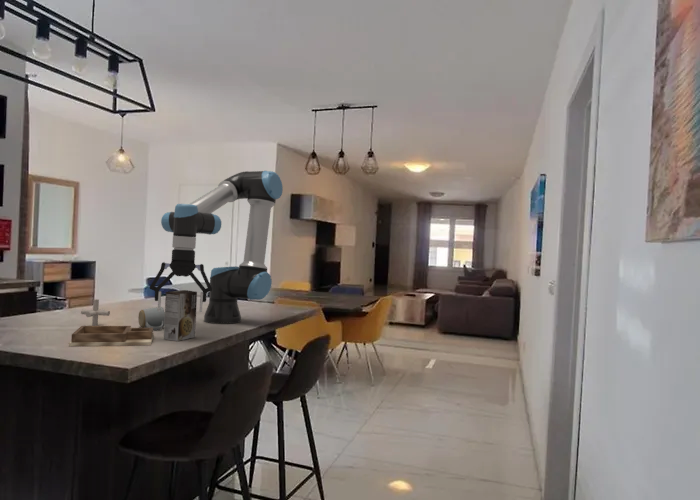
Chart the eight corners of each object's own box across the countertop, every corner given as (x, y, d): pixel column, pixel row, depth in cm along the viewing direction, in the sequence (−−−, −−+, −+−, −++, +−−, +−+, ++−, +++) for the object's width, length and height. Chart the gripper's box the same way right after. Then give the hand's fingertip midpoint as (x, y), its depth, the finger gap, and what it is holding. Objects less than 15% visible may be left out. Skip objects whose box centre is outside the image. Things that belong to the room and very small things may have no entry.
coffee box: (180, 335, 177) (183, 289, 177) (195, 337, 174) (198, 291, 174) (162, 339, 168) (164, 291, 168) (177, 341, 166) (180, 292, 166)
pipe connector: (101, 329, 181) (102, 301, 181) (73, 327, 181) (75, 300, 181) (114, 324, 191) (116, 298, 191) (88, 323, 191) (90, 297, 191)
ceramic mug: (136, 326, 189) (137, 306, 189) (158, 325, 195) (159, 305, 194) (145, 331, 181) (147, 310, 181) (168, 330, 186) (169, 309, 186)
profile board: (153, 335, 174) (154, 325, 174) (150, 345, 158) (151, 334, 158) (79, 335, 167) (80, 325, 167) (68, 346, 151) (69, 334, 151)
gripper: (220, 251, 179) (216, 310, 179) (145, 247, 171) (141, 309, 171) (222, 251, 172) (218, 313, 171) (143, 247, 164) (139, 311, 164)
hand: (180, 311), depth 171 cm, fingers open, 13 cm apart
